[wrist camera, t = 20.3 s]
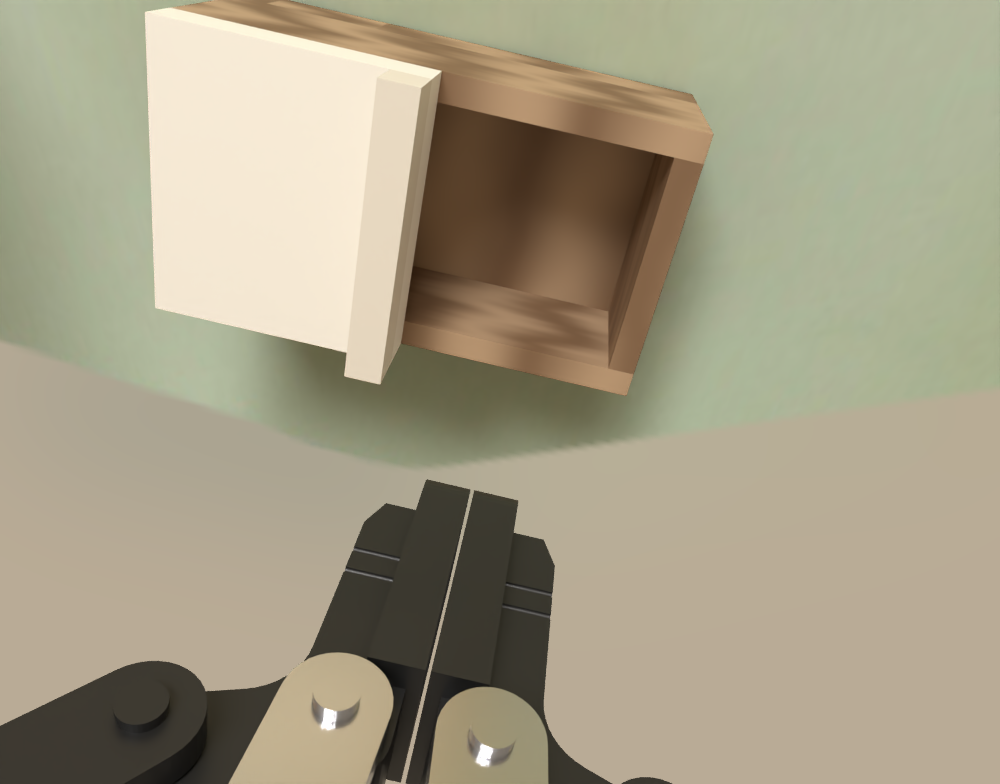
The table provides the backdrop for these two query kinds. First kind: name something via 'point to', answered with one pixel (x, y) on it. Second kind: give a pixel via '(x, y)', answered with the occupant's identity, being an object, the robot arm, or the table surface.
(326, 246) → the lid
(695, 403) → the table surface
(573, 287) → the box
